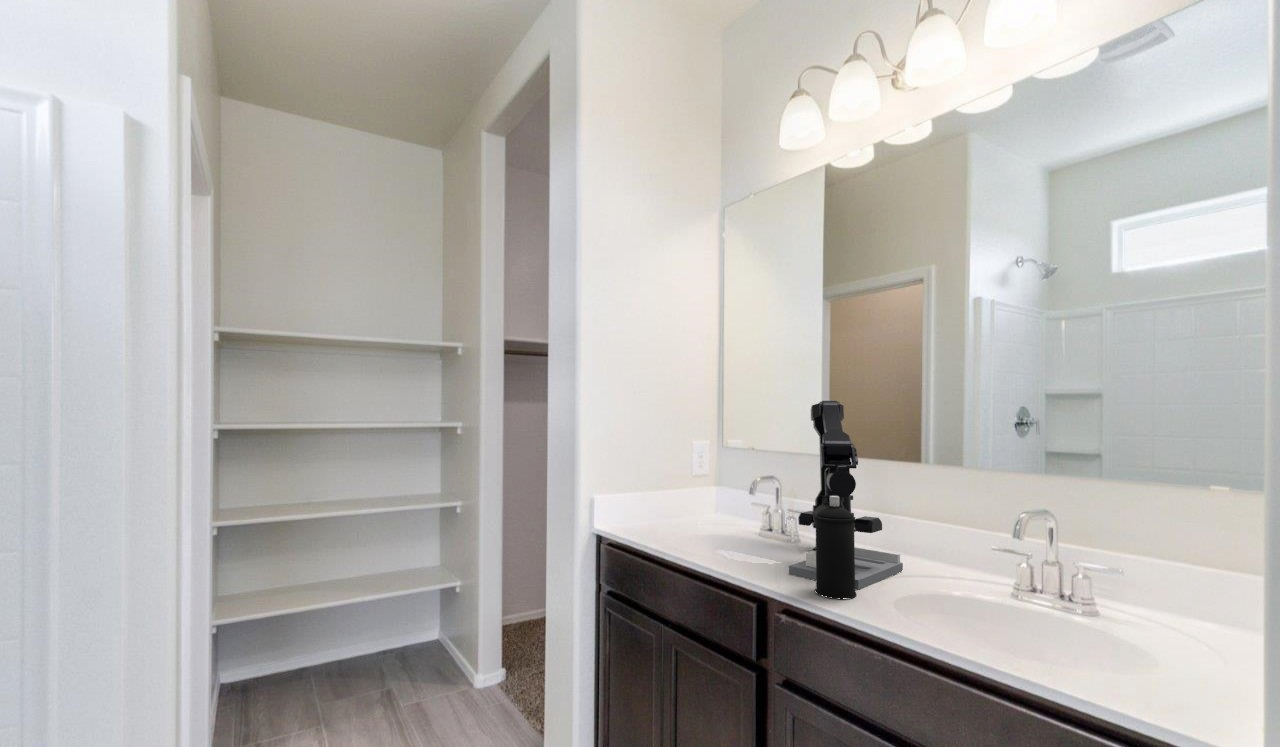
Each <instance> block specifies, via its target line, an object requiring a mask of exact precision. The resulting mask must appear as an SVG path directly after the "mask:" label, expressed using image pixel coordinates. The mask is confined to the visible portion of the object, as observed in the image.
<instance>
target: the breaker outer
mask: <svg viewBox="0 0 1280 747" xmlns="http://www.w3.org/2000/svg"><path fill="white" fill-rule="evenodd" d="M805 561H806V566H809V567H814V568H816V551H815V550H810V551H806V552H805Z"/></svg>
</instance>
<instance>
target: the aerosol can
mask: <svg viewBox="0 0 1280 747" xmlns="http://www.w3.org/2000/svg"><path fill="white" fill-rule="evenodd" d="M851 513H852V512H851ZM851 513H850V512H849V511H848V510H846V509H844V508H841V507H840V506H839V496H830V506H828V507H826V508H823V509H821V510H820V511H819V512H818V513H817V514H816V515H815V516H814V517H815V518H816V528H815V547H816V580H815V583H816V584H815V587H816V588H815V589H814V592H815V591H816V592H817V593H818V594H820V595H823V596H827V597H832V598H840V599H839V600H844V599H843V598H851V599H854V598H856V597H857V591H856V589H855V547H854V546H855V532H854V520H855V519H856V517H855V515H854V516H853V515H852V514H851ZM816 592H815V593H816ZM818 594H817V595H818ZM820 595H819V596H820Z"/></svg>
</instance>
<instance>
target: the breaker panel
mask: <svg viewBox="0 0 1280 747" xmlns="http://www.w3.org/2000/svg"><path fill="white" fill-rule="evenodd" d="M854 547H855V590H857V591H859V590H860V591H861V589H864V588H867V587H869V586H871V585H874V584H876V583H878V582H879V583H880V582H881V581H883V580H886V579H888V578H890V576H891V577H893V576H895V575H897V574H896V573H898V574H900V573H902V572H901V571H902V570H903V569H904V568H903V567H904V565H903V564H904V563H903V562H901V553H896V552H891V551H884V550H879V549H874V548H873V549H872V548H866V547H860V546H855V545H854ZM903 571H904V570H903ZM899 572H900V573H899ZM789 574H790V575H789ZM894 574H895V575H894ZM788 575H789V576H793V575H795V576H794V577H798V576H799V578H802V577H804V578H803V579H807V578H809V579H808V580H812V579H814V580H813V581H816V568H814V567H809V566H806V560H803V561H800V562H796V563H793V564H790V565H788ZM892 575H893V576H892Z"/></svg>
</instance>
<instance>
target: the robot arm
mask: <svg viewBox="0 0 1280 747" xmlns="http://www.w3.org/2000/svg"><path fill="white" fill-rule="evenodd" d="M844 409H845V408H844V405H843V404H841V402H840V401H837V400H822V401H819V402H818V403H814V404H812V405H811V408H810V421H811V422H812V423H813V424H812V425H813V429H814V431H815V432H816V434H817V435H818V436H819V439H818V440H819V472H820V473H819V475H820V476H819V477H820V490H819V492H818V494H817V496H816V497H815V499H814V504H813V505H812V510H807V511H804V512H800V514H799V515H798V518H797V519H798V525H800V526H808V527H810V526H812V529H816V518H815V517H814V516H815V515H816V514H817V513H818V512H819V511H820V510H821V509H823V508H826V507H828V506H830V496H839V506H840V507H841V508H844V509H846V510H848V511H849V512H850V513H851V514H852V515H853V516H854V517H855V513H854V512H852V502H851V501H854V495H852V494H853V493H854V492H855V489H856V486H857V482H856V479H855V477H854V476H853V474H851V472H850V470H851V469H857V466H858V465H859V460H858V459H859V458H858V452H857V448H856V446H855V444H854V443H852V440H851V438H850V435H849V434H848V433H846V432H845V431H844V429H843V425H842V422H843V421H844V419H845V411H844ZM880 531H883V522H882V520H881V518H880V517H876V516H875V517H873V516H867V515H866V516H861V517H857V518H855V520H854V533H856V532H858V533H865V534H866V533H867V534H874V533H877V532H880ZM812 551H816V546H815V547H813V548H812Z"/></svg>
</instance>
